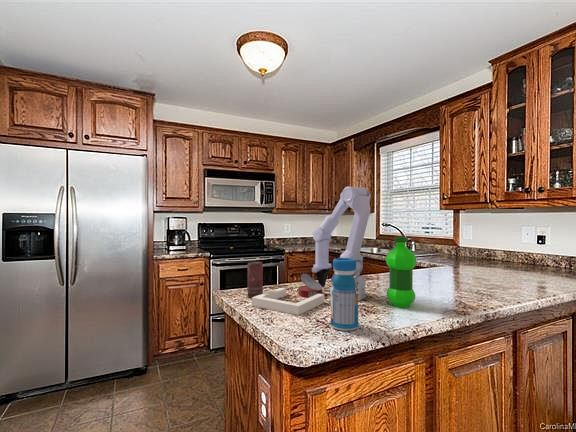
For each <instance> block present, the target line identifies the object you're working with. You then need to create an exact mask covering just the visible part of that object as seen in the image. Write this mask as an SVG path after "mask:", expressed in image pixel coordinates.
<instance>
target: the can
mask: <svg viewBox="0 0 576 432" xmlns="http://www.w3.org/2000/svg"><path fill="white" fill-rule="evenodd" d="M263 268H264V267H263V262H262V261H259V260H258V261H254V260H253V261H249V262H248V263H247V298H249V299H252V297H255V296H258V295H261V294H264V288H263V287H264V285H263V283H264V278H263V277H264V269H263Z"/></svg>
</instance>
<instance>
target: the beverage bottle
mask: <svg viewBox="0 0 576 432" xmlns="http://www.w3.org/2000/svg"><path fill="white" fill-rule="evenodd" d="M332 268H333V271H334V273H333V275H332V277H331V278H330V284H331V286H330V288H329V289H330V290H329V294H330V326H331V327H332V329H335V330H337V331H342V332H343V331H345V332H350V331H351V332H352V331H355V330H357V329H359V301H358V296H359V289H358V284H359V282H358V279H357V276H356V275H355V273H354V271H356V260H355V259H351V258H340V257H337V258H334V259H333V261H332Z"/></svg>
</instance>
